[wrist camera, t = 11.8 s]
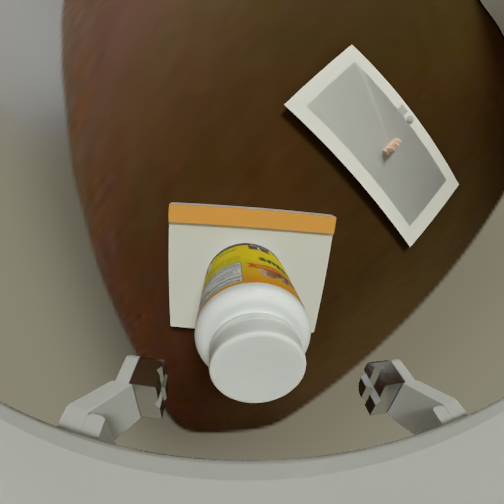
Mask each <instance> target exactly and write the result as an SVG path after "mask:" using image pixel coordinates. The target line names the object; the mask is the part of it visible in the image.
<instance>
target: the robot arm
mask: <svg viewBox="0 0 504 504" xmlns="http://www.w3.org/2000/svg"><path fill="white" fill-rule="evenodd" d="M480 1H481V3H482V4H483V5H484V7H485V8H486V10H487V11H488V12H489V14H490V15H491V16H492V18H493V19H494V20H495V22H496V23H497V25H498V26H499V28H500V30H501V32H502V34H503V36H504V0H480ZM166 369H167V366H166V361H165V360H159V359H152V358H146V357H139V356H133V355H128V356H127V357H126V359H125V361H124V363H123V365H122V367H121V369H120V371H119V374H118V376H117V378H116V380H115V381H110V382H108V383H107V384H105V385H103V386H101V387H99V388H98V389H96V390H94V391H92V392H91V393H89V394H87V395H85V396H84V397H82V398H80V399H78V400H76V401H74V402H73V403H71V404H69V405H68V406H67V408H66V410H65V411H64V414H63V415H62V417H61V419H60V421H59V423H58V425H57V427H56V426H54V425H51V424H49V423H46V422H44V421H41V420H39V419H36V418H34V417H32V416H29V415H27V414H25V413H23V412H21V411H19V410H16V409H14V408H12V407H10V406H8V405H6V404H4V403H3V402H1V401H0V504H504V397H503V398H502V399H500V400H498V401H496V402H494V403H492V404H490V405H488V406H486V407H484V408H482V409H480V410H478V411H476V412H474V413H471V414H469V415H468V414H467V413H466V412H465V410H464V409H463V408H462V406H461V405H460V404H459V402H458V401H457V400H456V399H454V398H453V397H450V396H448V395H446V394H444V393H442V392H440V391H438V390H436V389H434V388H432V387H430V386H428V385H426V384H424V383H422V382H420V381H419V380H416V381H415V380H414V378H413V377H412V376H411V374H410V373H409V371H408V370H407V369H406V368H405V366H404V365H403V363H402V362H401V361H400V360H399V359H392V360H386V361H378V362H370V363H368V364H367V365H366V367H365V369H364V370H365V375H363V376H362V377H361V379H360V382H359V393H360V396H361V397H362V398H363V399H364V400H366V404H365V406H366V408H367V410H368V412H369V414H370V415H376V414H382V413H387V414H388V415H389V416H391V417H392V418H393V419H395V420H396V421H397V422H398V423H399V424H401V425H402V426H403V427H405V428H406V429H407V430H409V431H410V432H411V433H413V434H414V436H410V437H407V438H403V439H400V440H396V441H393V442H389V443H385V444H381V445H377V446H373V447H368V448H364V449H359V450H354V451H348V452H342V453H336V454H330V455H323V456H316V457H315V456H314V457H306V458H296V459H295V458H294V459H279V460H216V459H202V458H191V457H181V456H173V455H166V454H159V453H153V452H148V451H142V450H137V449H132V448H128V447H123V446H119V445H116V443H115V439H117V438H118V437H119V436H120V435H121V434H122V433H124V432H125V431H126V430H127V429H128V428H129V427H130V426H132V425H133V424H134V423H135V422H136V421H137V420H138V419H139V418H140V417H141V416H143V417H150V418H157V419H162V416H163V412H164V408H165V405H164V400H165V399H167V394H168V376H167V375H166V374H165V373H166Z"/></svg>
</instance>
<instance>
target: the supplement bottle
mask: <svg viewBox="0 0 504 504" xmlns="http://www.w3.org/2000/svg"><path fill="white" fill-rule="evenodd" d="M310 336H311V327H310V321H309V318H308V315H307V313H306V310H305V308H304V306H303V304H302V302H301V300H300V298H299V296H298V294H297V293H296V291H295V288H294V286H293V285H292V283H291V281H290V279H289V277H288V275H287V273H286V272H285V269H284V268H283V266H282V264H281V262H280V261H279V259H278V258H277V257H276V255H275V254H273V253H272V252H271V251H270V250H268V249H267V248H265V247H263V246H261V245H258V244H254V243H238V244H234V245H231V246H228V247H226V248H224V249H223V250H221V251H220V252H219V253H218V254H217V255H216V256H215V257H214V258H213V259H212V261H211V263H210V264H209V267H208V269H207V273H206V277H205V281H204V286H203V290H202V295H201V300H200V305H199V310H198V314H197V320H196V325H195V343H196V347H197V350H198V353H199V355H200V357H201V358H202V360H203V361H204V362H205V364H206V365H207V366H208V367H209V373H210V377H211V380H212V382H213V384H214V385H215V386H216V388H217V389H218V390H219V391H220V392H222V393H223V394H224V395H226V396H228V397H229V398H232V399H234V400H237V401H241V402H247V403H262V402H268V401H272V400H275V399H277V398H280V397H282V396H284V395H286V394H287V393H289V392H290V391H291V390H293V389H294V388H295V387H296V386H297V385H298V384H299V382H300V381H301V379H302V378H303V375H304V373H305V369H306V358H305V352H306V350H307V348H308V345H309V342H310Z"/></svg>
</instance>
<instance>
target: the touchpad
mask: <svg viewBox="0 0 504 504" xmlns="http://www.w3.org/2000/svg"><path fill="white" fill-rule="evenodd" d="M284 105H285V106H286V107H287V108H288V109H289V110H290V111H291V112H292V113H293V114H294V115H295V116H297V117H298V118H299V119H300V120H301V121H302V122H303V123H304V124H305V125H306V126H307V127H308V128H309V129H310V130H311V131H312V132H313V133H314V134H315V135H316V136H317V137H318V138H319V139H320V140H321V141H322V142H323V143H324V144H325V145H326V146H327V147H328V148H329V149H330V150H331V151H332V153H333V154H334V155H335V156H336V157H337V158H338V159H339V160H340V161H341V162H342V163H343V164H344V166H345V167H346V168H347V169H348V170H349V171H350V172H351V173H352V174H353V176H354V177H355V178H356V179H357V180H358V181H359V183H360V184H361V185H362V186H363V187H364V188H365V190H366V191H367V192H368V193H369V194H370V196H371V197H372V198H373V199H374V200H375V202H376V203H377V204H378V205H379V207H380V208H381V209H382V210H383V212H384V213H385V214H386V215H387V217H388V218H389V219H390V221H391V222H392V223H393V225H394V226H395V227H396V229H397V230H398V231H399V233H400V234H401V235H402V237H403V238H404V239H405V241H406V242H407V244H408V245H409V246H410V247H411V246H412V244H413V243H414V242H415V241H416V240H417V239H418V237H419V236H420V235H421V234H422V232H423V231H424V230H425V229H426V228H427V226H428V225H429V224H430V223H431V221H432V220H433V219H434V217H435V216H436V215H437V214H438V212H439V211H440V210H441V208H442V207H443V206H444V204H445V203H446V202H447V200H448V199H449V198H450V196H451V195H452V194H453V192H454V191H455V189H456V188H457V187H458V185H459V184H458V182H457V180H456V178H455V177H454V175H453V173H452V171H451V170H450V168H449V166H448V164H447V163H446V161H445V159H444V158H443V156H442V155H441V153H440V151H439V150H438V148H437V147H436V145H435V144H434V142H433V141H432V139H431V138H430V136H429V135H428V133H427V132H426V130H425V129H424V127H423V126H422V125H421V123H420V122H419V121H418V119H417V118H416V116H415V115H414V114H413V112H412V111H411V110H410V108H409V107H408V106H407V105H406V103H405V102H404V101H403V100H402V98H401V97H400V96H399V95H398V93H397V92H396V91H395V90H394V89H393V87H392V86H391V85H390V84H389V83H388V82H387V81H386V79H385V78H384V77H383V76H382V75H381V74H380V73H379V72H378V71H377V69H376V68H375V67H374V66H373V65H372V64H371V63H370V62H369V61H368V60H367V59H366V58H365V57H364V56H363V55H362V54H361V53H360V52H359V51H358V50H357V49H356V48H355V47H354V46H353V45H351V46H349V47H348V48H347V49H346V50H345V51H343V52H342V53H341V54H340V55H339V56H337V57H336V58H335V59H334V60H333V61H332V62H330V63H329V64H328V65H327V66H326V67H325V68H324V69H322V70H321V71H320V72H319V73H318V74H317V75H316V76H315V77H313V78H312V79H311V80H310V81H309V82H308V83H307V84H306V85H305V86H303V87H302V88H301V89H300V90H299V91H298V92H297V93H296V94H295V95H294V96H293V97H292V98H291V99H290V100H288V101H287V102H286V103H285V104H284Z"/></svg>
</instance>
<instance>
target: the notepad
mask: <svg viewBox="0 0 504 504" xmlns="http://www.w3.org/2000/svg"><path fill="white" fill-rule="evenodd" d="M335 223H336V217H335V216H333V215H328V214H319V213H309V212H299V211H289V210H278V209H267V208H255V207H242V206H228V205H212V204H195V203H176V202H172V203H170V204H169V302H170V325H171V326H173V327H184V328H195V325H196V320H197V314H198V310H199V305H200V300H201V295H202V290H203V286H204V281H205V277H206V273H207V269H208V267H209V264H210V263H211V261H212V259H213V258H214V257H215V256H216V255H217V254H218V253H219V252H220V251H221V250H223V249H224V248H226V247H228V246H231V245H234V244H238V243H254V244H258V245H261V246H263V247H265V248H267V249H268V250H270V251H271V252H272V253H273V254H275V255H276V257H277V258H278V259H279V261H280V262H281V264H282V266H283V268H284V269H285V272H286V273H287V275H288V277H289V279H290V281H291V283H292V285H293V286H294V288H295V291H296V293H297V294H298V296H299V298H300V300H301V302H302V304H303V306H304V308H305V310H306V313H307V315H308V318H309V321H310V327H311V332H314V329H315V324H316V320H317V315H318V311H319V306H320V301H321V296H322V291H323V286H324V281H325V276H326V271H327V265H328V260H329V254H330V248H331V242H332V236H333V234H334V230H335Z"/></svg>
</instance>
